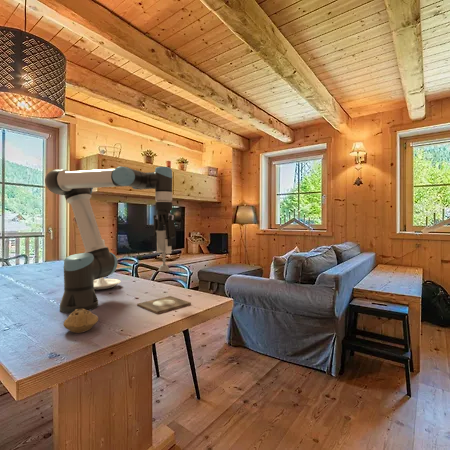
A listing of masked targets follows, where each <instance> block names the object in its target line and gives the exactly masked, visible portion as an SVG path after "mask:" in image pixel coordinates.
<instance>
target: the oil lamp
mask: <svg viewBox="0 0 450 450" xmlns="http://www.w3.org/2000/svg"><path fill="white" fill-rule="evenodd" d="M98 321H99V317H98V315H96V314H94V313H93V312H92V311H91V310H85V309H76V310H75V311H74V312H72V313H69V315H68V316H67V318H66V319H65V320H64V321H63V327H64V328H65V329H66V330H68V331H70V332H71V333H77V334H80V333H85V332H87V331H90V330H91V329H92V327H94V326H95V325H96V324H97V323H98Z"/></svg>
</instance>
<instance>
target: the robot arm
mask: <svg viewBox="0 0 450 450" xmlns="http://www.w3.org/2000/svg"><path fill="white" fill-rule="evenodd" d="M173 179H174V178H173V170H172V168H171V167H169V166H156V167H155V169H154V171H152V172H151V171H150V172H145V171H140V170H137V169H134V168H131V167H128V166H121V165H120V166H117V167H115V168H106V169H103V168H102V169H90V170H72V171H70V170H68V169H64V168H63V169H53V170H50V171H48V173H47V174H46V176H45V178H44V183H45V186H46V188H47V189H48V190H49V191H50V192H51V193H52V194H55V195H58V196H59V195H60V196H64V199H65V202H66V203H67V204H69V205H70V206H71V208H72V209H71V210H72V212H73V214H74V215H73V216H74V219H75V223H76V224H77V225H76V226H77V228H78V231H79V235H80V238H81V241H82V244H83V247H84V252H83V253H82V252H81V253H75V254H71V255H68V256H66V257H65V258H64V261H63V285H64V286H63V288H64V289H63V295H62V297H61V300H60V303H59V311H60V312H62V313H64V314H65V313H66V314H71V313H72V312H74V311H75V310H76V309H85V310H88V311H91V310H94V309H96V308H98V306H99V299H98V297H97V294H96V291H95V289H94V280H96V279H99V278H104V279H105V278H106V277H109V276H111V275H112V274H114V273H115V272H116V270H117V267H118V258H117V255H115V254H114V253H113V252H110V249H109V247H108V246H107V245H106V244H105V245H104V244H103V241H102V240H103V238H102V235H101V232H100V229H99V225H98V223H97V219H96V216H95V213H94V210H93V207H92V204H91V201H90V199H91V198H92V197H93V196H92V194H93V190H94V188H112V187H114V188H115V187H117V188H119V187H123V188H124V187H129V188H130V187H131V188H132V189H134V190H155V195H154V199H155V203H154V204H155V205H154V207H155V208H154V209H155V211H157V213H156V215H155V214H153V237H155V238H156V239H157V232H156V230H158V231H163V230H165V231H166V237H167V238H165V255H169V254H172V245H173V244H172V243H173V239H174V238H176V225H175V224H176V222H175V221H176V214H172V213H171V212H172V211H173ZM156 253H158V254H159V253H163V251H161V250H160V248H159V246H158V243H157V242H156Z"/></svg>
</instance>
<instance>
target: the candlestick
mask: <svg viewBox="0 0 450 450" xmlns="http://www.w3.org/2000/svg"><path fill="white" fill-rule="evenodd" d="M102 241H103V244H104V245H105V246H106V243H105V241H106V239H102ZM121 282H122V281H121V280H120V279H116V278H105V277H104V278H99V279H96V280H94V291H95V290H97V291H98V290H107V289H111V288H113V287H116V286H117V285H118V284H120V283H121Z"/></svg>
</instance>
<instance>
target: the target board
mask: <svg viewBox="0 0 450 450" xmlns="http://www.w3.org/2000/svg"><path fill="white" fill-rule="evenodd" d="M191 305H192V302H191V301H187V300H184V299H181V298H177V297H174V296H171V295H169V296H165V297H159V298H156V299H151V300H147V301H144V302H139V303H137V304H136V306H137V307H139V308H141V309H143V310H147V311H148V312H151V313H153V314H155V315H159V314H162V313H166V312H170V311H174V310H176V309H179V308H184V307H187V306H191Z"/></svg>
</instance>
